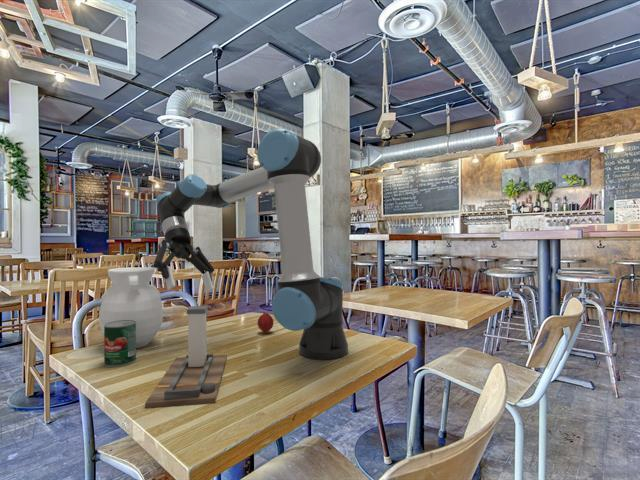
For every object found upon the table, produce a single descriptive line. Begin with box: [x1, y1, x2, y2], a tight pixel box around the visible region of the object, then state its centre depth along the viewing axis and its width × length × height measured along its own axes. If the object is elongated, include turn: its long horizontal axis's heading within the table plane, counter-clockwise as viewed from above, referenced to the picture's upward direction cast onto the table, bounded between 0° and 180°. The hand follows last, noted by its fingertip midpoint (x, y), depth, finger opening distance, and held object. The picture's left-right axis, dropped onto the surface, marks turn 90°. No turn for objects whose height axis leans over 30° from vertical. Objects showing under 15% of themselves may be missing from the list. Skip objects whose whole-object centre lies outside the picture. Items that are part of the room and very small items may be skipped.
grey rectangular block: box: [186, 305, 209, 367], centre depth 95 cm, size 5×5×15 cm
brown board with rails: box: [144, 353, 228, 409], centre depth 88 cm, size 28×14×2 cm, turn 10°
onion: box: [257, 311, 274, 334], centre depth 131 cm, size 6×6×8 cm
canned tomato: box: [103, 320, 137, 368], centre depth 100 cm, size 8×8×11 cm
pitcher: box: [98, 266, 164, 349], centre depth 116 cm, size 19×18×25 cm
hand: (191, 289), depth 106 cm, fingers open, 13 cm apart
